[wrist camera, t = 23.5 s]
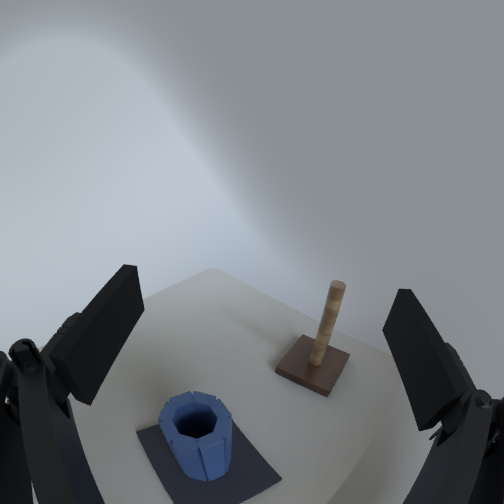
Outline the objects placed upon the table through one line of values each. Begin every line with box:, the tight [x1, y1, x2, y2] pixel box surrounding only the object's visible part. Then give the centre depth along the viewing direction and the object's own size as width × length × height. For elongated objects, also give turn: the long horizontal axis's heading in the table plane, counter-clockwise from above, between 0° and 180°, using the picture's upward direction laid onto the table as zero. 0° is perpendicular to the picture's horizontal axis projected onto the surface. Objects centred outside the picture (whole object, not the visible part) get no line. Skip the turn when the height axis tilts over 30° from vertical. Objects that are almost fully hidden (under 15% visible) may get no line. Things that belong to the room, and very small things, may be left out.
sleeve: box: [158, 391, 232, 482], centre depth 22 cm, size 6×6×11 cm
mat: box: [136, 420, 282, 504], centre depth 24 cm, size 14×12×1 cm
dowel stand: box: [275, 280, 350, 397], centre depth 36 cm, size 9×9×16 cm
